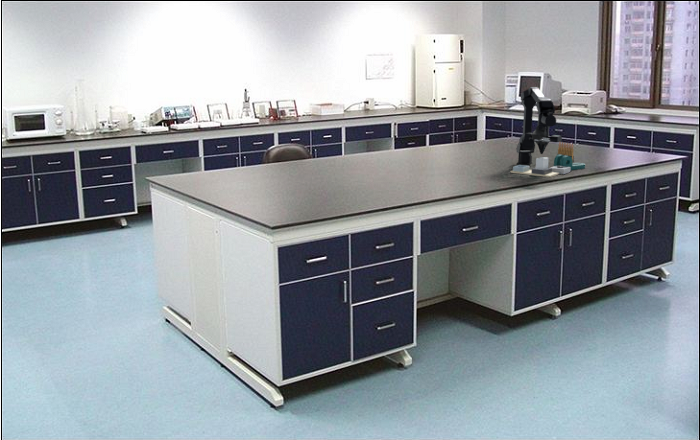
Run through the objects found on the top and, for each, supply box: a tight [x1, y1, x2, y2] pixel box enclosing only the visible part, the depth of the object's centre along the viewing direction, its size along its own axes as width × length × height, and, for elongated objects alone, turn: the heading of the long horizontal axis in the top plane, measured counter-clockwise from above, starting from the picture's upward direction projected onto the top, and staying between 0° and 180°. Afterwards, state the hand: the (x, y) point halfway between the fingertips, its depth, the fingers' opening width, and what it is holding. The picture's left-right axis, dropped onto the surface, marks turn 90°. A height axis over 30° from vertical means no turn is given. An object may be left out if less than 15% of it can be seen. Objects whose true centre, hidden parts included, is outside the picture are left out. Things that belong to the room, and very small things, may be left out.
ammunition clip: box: [556, 141, 575, 163], centre depth 398 cm, size 11×2×12 cm, turn 32°
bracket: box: [553, 154, 586, 171], centre depth 383 cm, size 18×7×8 cm, turn 118°
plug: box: [535, 156, 550, 170], centre depth 368 cm, size 4×7×7 cm, turn 141°
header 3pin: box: [512, 164, 531, 172], centre depth 376 cm, size 6×7×2 cm
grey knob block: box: [550, 165, 572, 175], centre depth 374 cm, size 8×8×3 cm
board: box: [510, 169, 559, 178], centre depth 371 cm, size 22×10×1 cm, turn 50°
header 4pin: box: [531, 167, 552, 175], centre depth 368 cm, size 7×9×2 cm
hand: (541, 153), depth 373 cm, fingers closed
